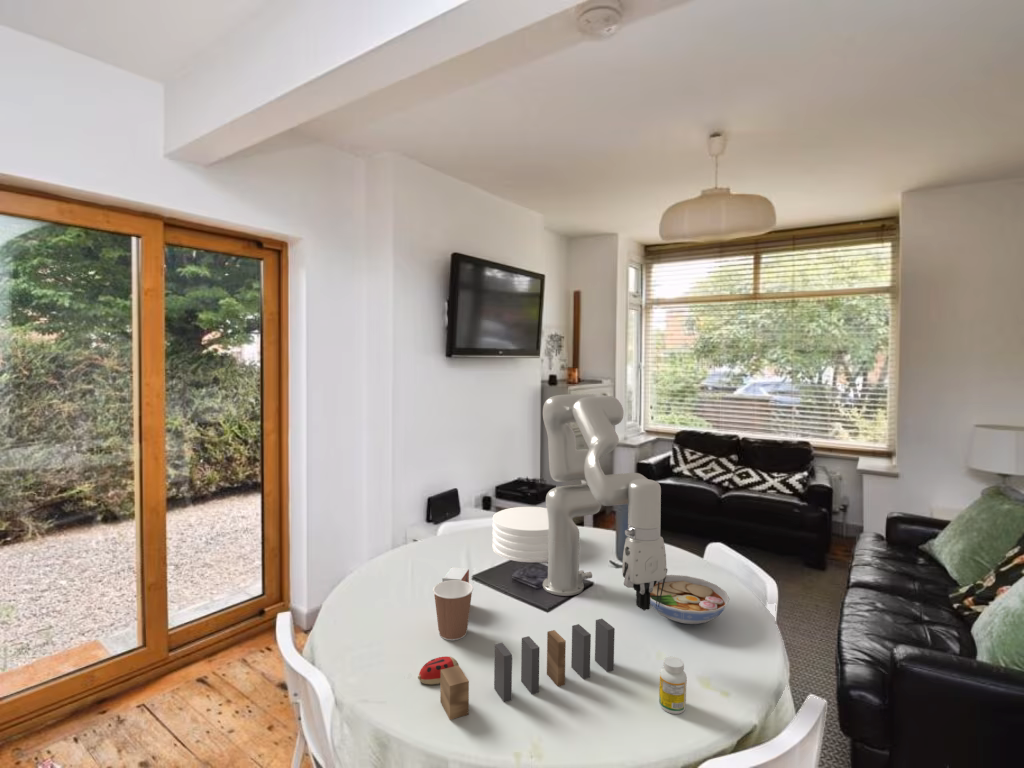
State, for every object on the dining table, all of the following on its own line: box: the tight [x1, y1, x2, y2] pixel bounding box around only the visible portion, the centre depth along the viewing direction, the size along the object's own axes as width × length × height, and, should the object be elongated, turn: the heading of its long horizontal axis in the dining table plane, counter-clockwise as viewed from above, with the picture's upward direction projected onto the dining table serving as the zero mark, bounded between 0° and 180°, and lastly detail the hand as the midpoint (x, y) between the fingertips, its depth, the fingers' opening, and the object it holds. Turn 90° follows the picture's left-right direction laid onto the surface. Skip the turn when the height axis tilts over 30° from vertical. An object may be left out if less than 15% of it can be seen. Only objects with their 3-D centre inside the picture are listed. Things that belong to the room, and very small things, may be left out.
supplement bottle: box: [658, 655, 688, 715], centre depth 113 cm, size 5×5×10 cm
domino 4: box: [570, 623, 592, 680], centre depth 125 cm, size 2×5×10 cm, turn 25°
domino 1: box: [493, 642, 513, 703], centre depth 116 cm, size 2×5×10 cm, turn 25°
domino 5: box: [594, 618, 616, 673], centre depth 127 cm, size 2×5×10 cm, turn 25°
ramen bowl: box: [650, 570, 730, 625], centre depth 151 cm, size 25×23×8 cm
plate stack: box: [491, 506, 549, 563], centre depth 202 cm, size 28×28×12 cm
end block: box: [439, 665, 470, 721], centre depth 112 cm, size 4×6×7 cm, turn 25°
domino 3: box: [546, 629, 567, 687], centre depth 122 cm, size 2×5×10 cm, turn 25°
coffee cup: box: [432, 580, 474, 641], centre depth 141 cm, size 10×10×12 cm
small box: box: [441, 567, 470, 583], centre depth 154 cm, size 8×6×10 cm
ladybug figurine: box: [417, 656, 460, 686], centre depth 123 cm, size 7×10×4 cm
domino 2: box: [520, 636, 540, 695], centre depth 119 cm, size 2×5×10 cm, turn 25°
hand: (643, 607), depth 131 cm, fingers closed
